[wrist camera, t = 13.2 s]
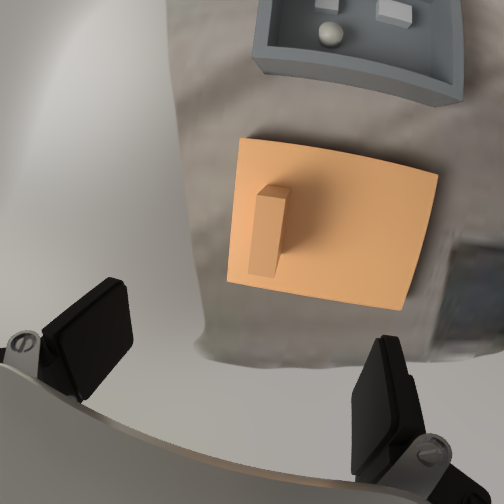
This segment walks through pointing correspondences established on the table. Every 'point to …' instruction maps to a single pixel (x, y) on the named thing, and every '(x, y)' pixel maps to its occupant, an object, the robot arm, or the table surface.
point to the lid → (327, 223)
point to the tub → (366, 45)
